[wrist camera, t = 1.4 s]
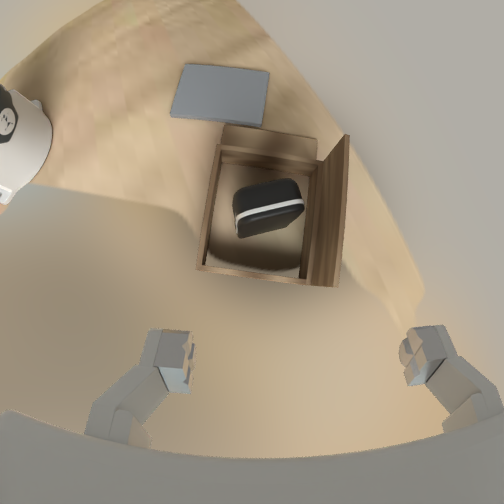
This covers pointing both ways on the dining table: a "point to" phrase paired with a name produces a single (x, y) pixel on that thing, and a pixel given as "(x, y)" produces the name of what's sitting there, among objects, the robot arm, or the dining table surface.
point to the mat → (221, 94)
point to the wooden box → (318, 204)
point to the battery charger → (266, 207)
